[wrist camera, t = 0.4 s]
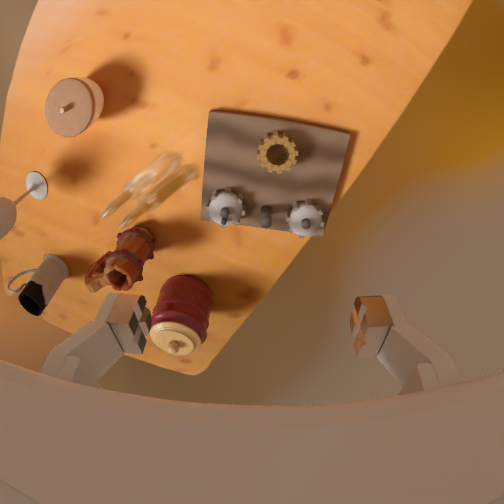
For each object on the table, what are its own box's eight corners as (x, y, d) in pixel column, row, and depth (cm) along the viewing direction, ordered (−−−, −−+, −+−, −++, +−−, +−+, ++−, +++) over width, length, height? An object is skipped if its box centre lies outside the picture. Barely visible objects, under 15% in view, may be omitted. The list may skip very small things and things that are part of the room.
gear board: (211, 109, 47) (203, 117, 41) (347, 132, 48) (358, 142, 43) (202, 215, 59) (195, 233, 54) (320, 231, 61) (326, 251, 55)
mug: (150, 216, 60) (123, 260, 48) (166, 247, 64) (146, 295, 52) (98, 233, 63) (68, 275, 51) (115, 261, 67) (91, 305, 55)
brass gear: (260, 127, 47) (260, 132, 44) (299, 134, 47) (301, 139, 44) (255, 163, 51) (254, 170, 48) (292, 169, 51) (293, 176, 48)
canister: (205, 270, 68) (191, 331, 54) (219, 310, 75) (210, 368, 61) (154, 276, 69) (131, 333, 55) (172, 313, 77) (156, 368, 63)
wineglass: (23, 171, 53) (-35, 217, 36) (44, 169, 53) (-16, 218, 36) (29, 199, 57) (-23, 250, 40) (51, 199, 57) (-3, 253, 40)
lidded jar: (122, 88, 44) (97, 95, 37) (98, 135, 49) (73, 151, 42) (81, 65, 41) (52, 70, 33) (60, 112, 46) (32, 124, 38)
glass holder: (69, 283, 73) (46, 322, 61) (32, 268, 70) (6, 303, 58) (67, 259, 68) (40, 299, 56) (27, 245, 65) (-2, 280, 53)
